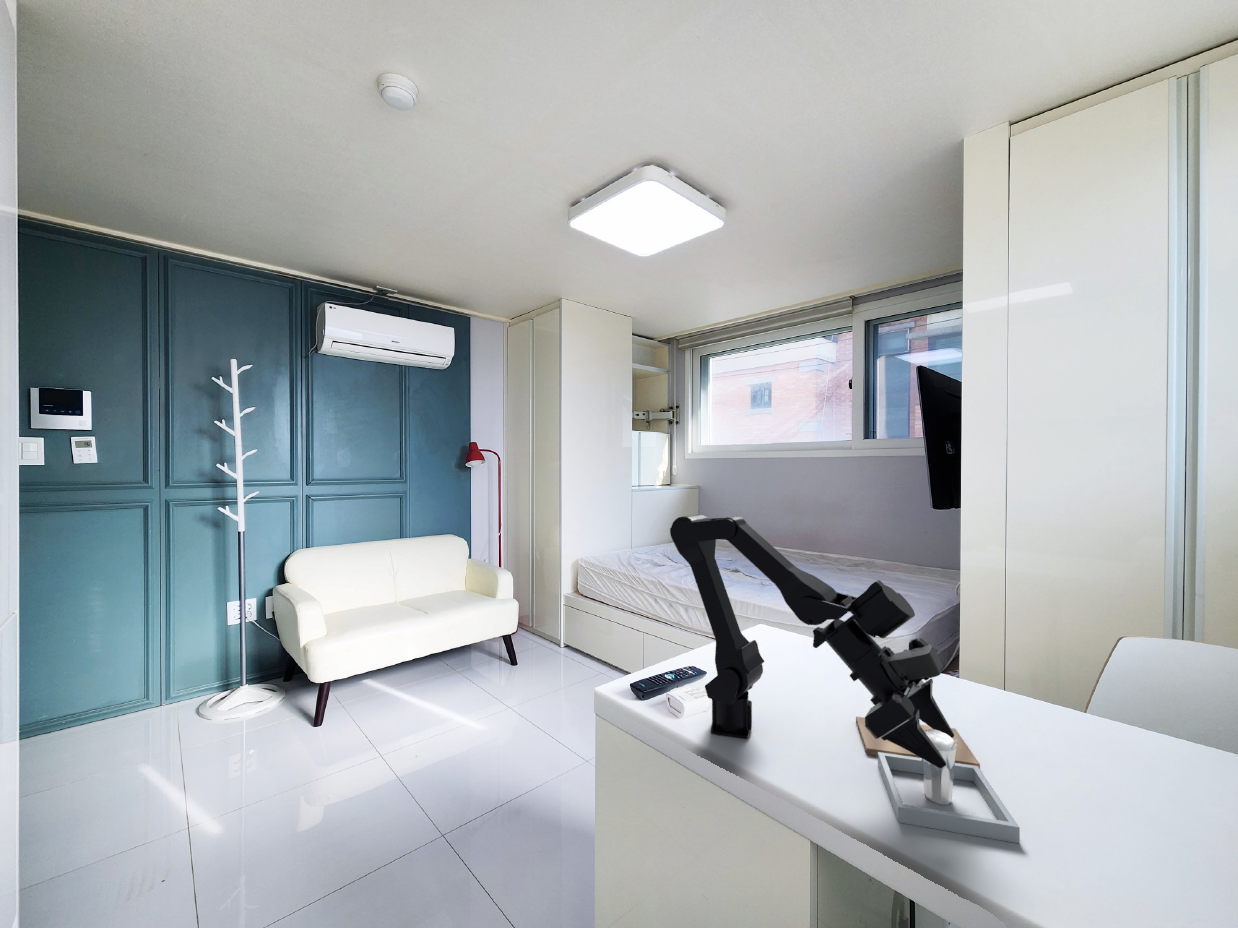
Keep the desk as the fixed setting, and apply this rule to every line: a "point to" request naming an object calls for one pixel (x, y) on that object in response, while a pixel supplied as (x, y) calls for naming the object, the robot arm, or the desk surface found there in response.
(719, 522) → the robot arm
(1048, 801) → the desk surface
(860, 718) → the board
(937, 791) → the milkshake
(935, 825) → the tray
